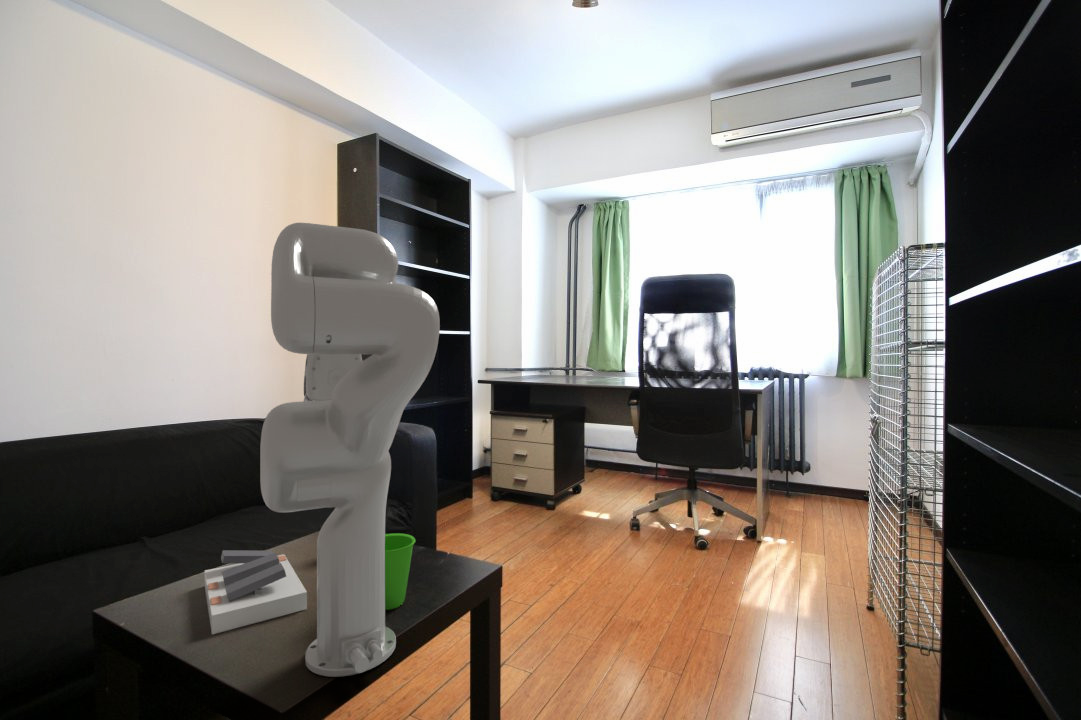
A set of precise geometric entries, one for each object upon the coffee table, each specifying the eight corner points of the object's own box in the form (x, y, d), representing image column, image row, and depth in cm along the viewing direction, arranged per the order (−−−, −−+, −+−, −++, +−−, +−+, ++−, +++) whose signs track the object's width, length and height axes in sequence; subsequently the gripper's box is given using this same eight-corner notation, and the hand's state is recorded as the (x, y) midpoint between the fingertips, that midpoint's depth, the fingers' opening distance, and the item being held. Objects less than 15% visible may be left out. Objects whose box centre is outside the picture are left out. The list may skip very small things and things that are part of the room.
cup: (426, 599, 92) (426, 538, 92) (387, 620, 85) (386, 554, 85) (392, 587, 97) (392, 530, 97) (352, 607, 89) (352, 544, 90)
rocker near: (286, 576, 90) (284, 569, 90) (228, 601, 85) (226, 594, 85) (282, 569, 93) (280, 562, 93) (226, 594, 88) (224, 586, 88)
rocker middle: (279, 565, 96) (278, 558, 96) (224, 585, 91) (223, 578, 91) (276, 559, 99) (275, 552, 99) (223, 579, 94) (221, 571, 93)
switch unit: (306, 609, 89) (306, 587, 89) (211, 634, 81) (211, 611, 81) (284, 568, 107) (284, 550, 107) (204, 586, 98) (204, 566, 98)
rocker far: (273, 563, 102) (275, 555, 102) (222, 563, 96) (224, 555, 97) (271, 557, 104) (272, 550, 105) (220, 557, 99) (222, 550, 100)
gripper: (294, 338, 88) (294, 444, 88) (380, 340, 97) (380, 436, 96) (286, 340, 94) (286, 439, 94) (367, 342, 103) (368, 432, 103)
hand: (334, 437), depth 95 cm, fingers closed
